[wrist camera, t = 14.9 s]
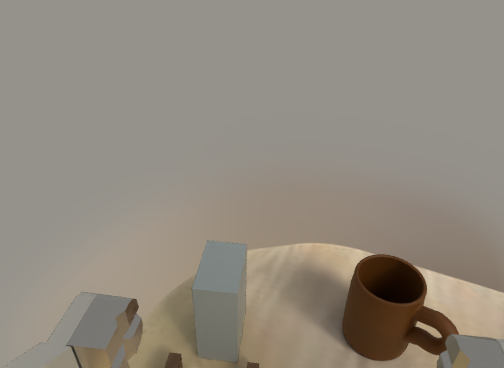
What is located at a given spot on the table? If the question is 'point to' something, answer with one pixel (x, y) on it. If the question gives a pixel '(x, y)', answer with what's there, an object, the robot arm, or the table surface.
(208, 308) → the tall grey rectangular block
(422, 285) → the mug
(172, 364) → the walnut cradle
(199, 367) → the table surface
